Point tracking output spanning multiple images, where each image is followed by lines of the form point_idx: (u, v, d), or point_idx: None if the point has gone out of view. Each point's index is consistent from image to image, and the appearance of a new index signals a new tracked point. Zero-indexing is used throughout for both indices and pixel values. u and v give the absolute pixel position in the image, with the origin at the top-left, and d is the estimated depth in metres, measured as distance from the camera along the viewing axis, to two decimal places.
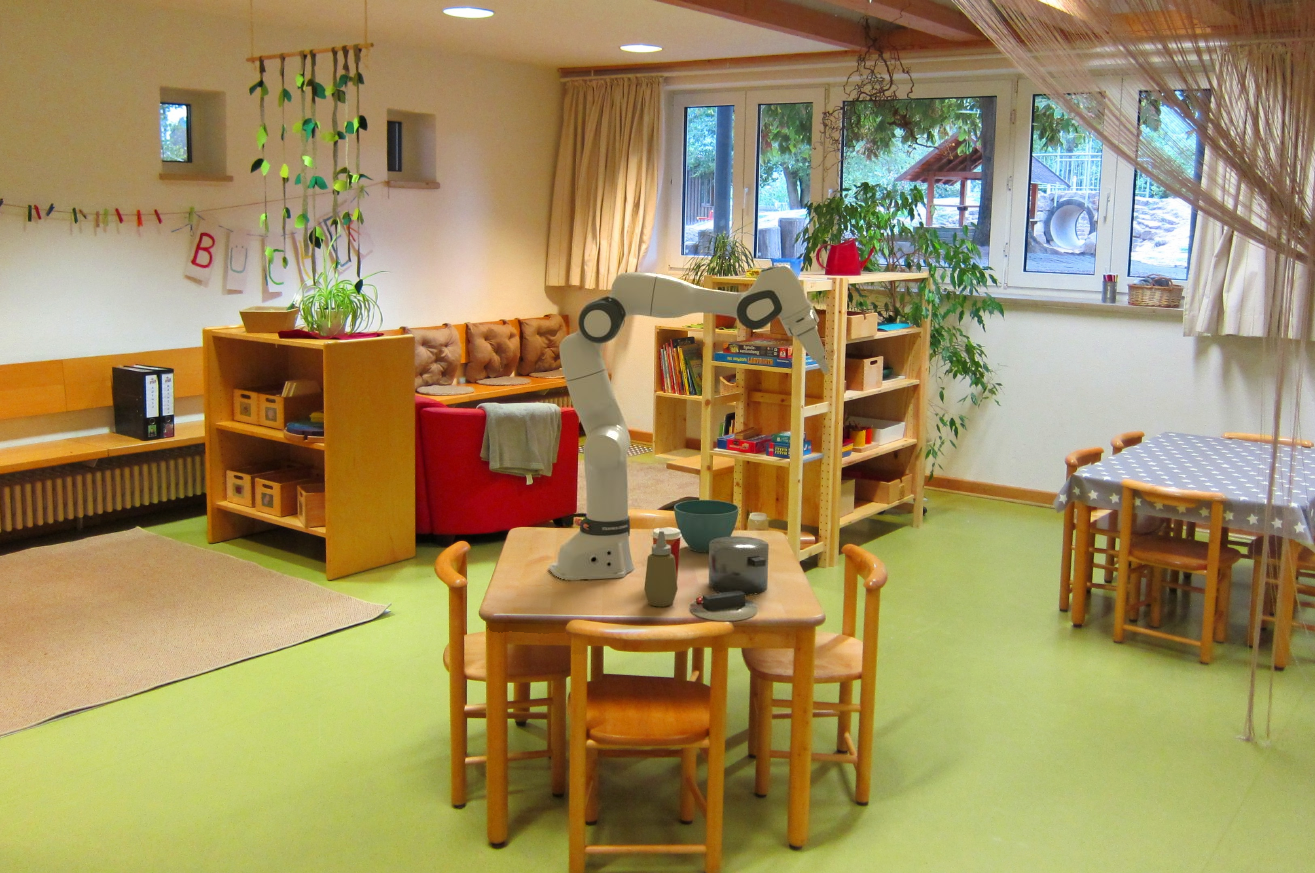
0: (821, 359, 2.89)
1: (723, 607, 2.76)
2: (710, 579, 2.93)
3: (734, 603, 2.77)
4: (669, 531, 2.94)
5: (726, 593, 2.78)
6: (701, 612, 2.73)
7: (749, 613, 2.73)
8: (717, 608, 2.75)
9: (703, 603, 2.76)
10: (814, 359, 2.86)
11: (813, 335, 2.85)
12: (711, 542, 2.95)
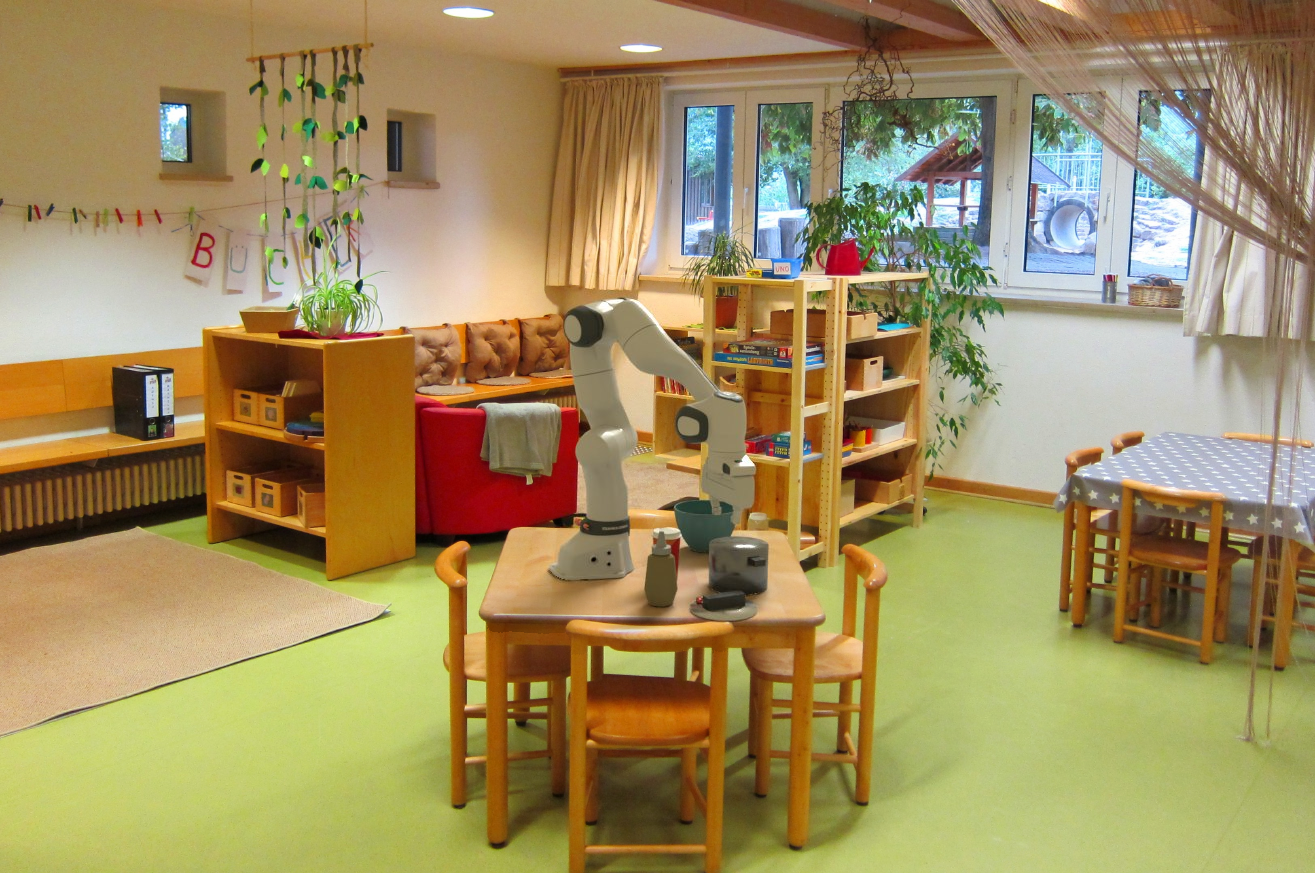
0: (740, 508, 2.67)
1: (723, 607, 2.75)
2: (710, 579, 2.93)
3: (734, 603, 2.77)
4: (669, 531, 2.94)
5: (726, 593, 2.78)
6: (701, 612, 2.73)
7: (749, 613, 2.73)
8: (717, 608, 2.75)
9: (703, 603, 2.76)
10: (741, 507, 2.63)
11: (750, 482, 2.64)
12: (711, 542, 2.95)
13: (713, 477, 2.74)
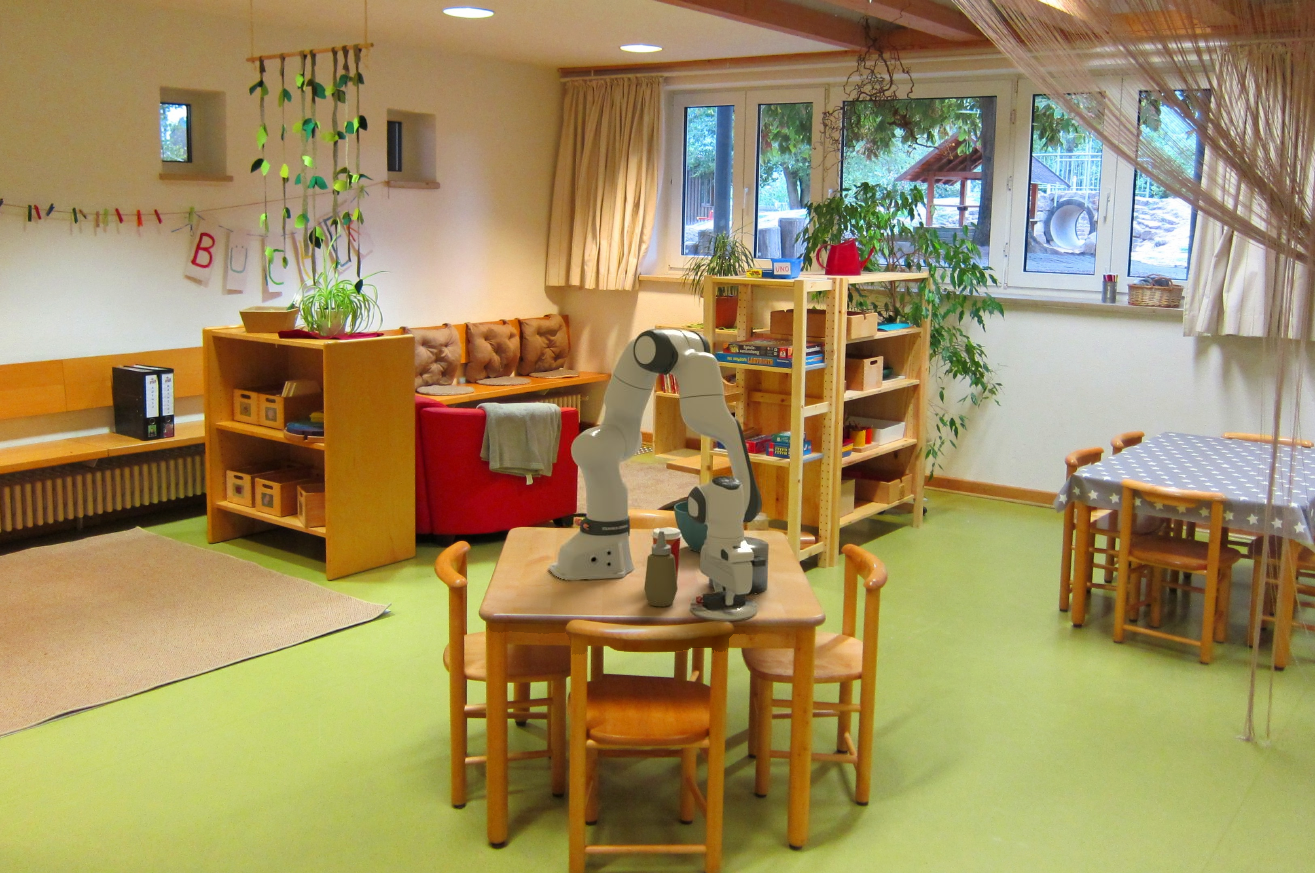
0: None
1: (723, 606, 2.75)
2: (710, 579, 2.93)
3: (734, 601, 2.76)
4: (669, 531, 2.94)
5: (726, 592, 2.78)
6: (701, 611, 2.73)
7: (749, 612, 2.73)
8: (717, 607, 2.75)
9: (703, 602, 2.76)
10: (739, 593, 2.67)
11: (748, 569, 2.67)
12: None
13: (711, 560, 2.78)
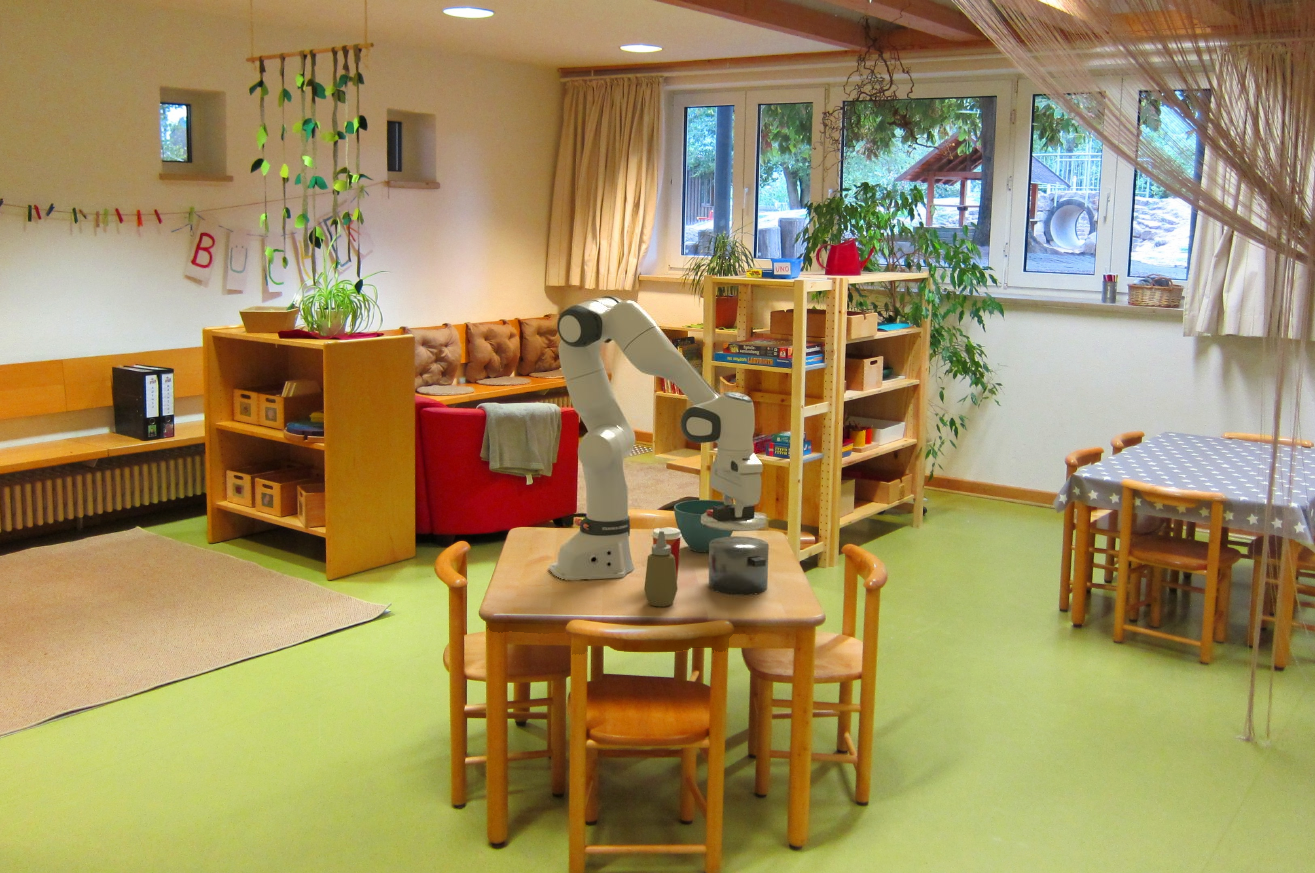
0: (742, 502, 2.81)
1: (733, 518, 2.83)
2: (710, 579, 2.93)
3: (743, 514, 2.84)
4: (669, 531, 2.94)
5: None
6: (711, 521, 2.81)
7: (758, 523, 2.80)
8: (727, 518, 2.83)
9: (713, 514, 2.84)
10: (747, 503, 2.75)
11: (757, 480, 2.75)
12: (711, 542, 2.95)
13: (722, 474, 2.86)
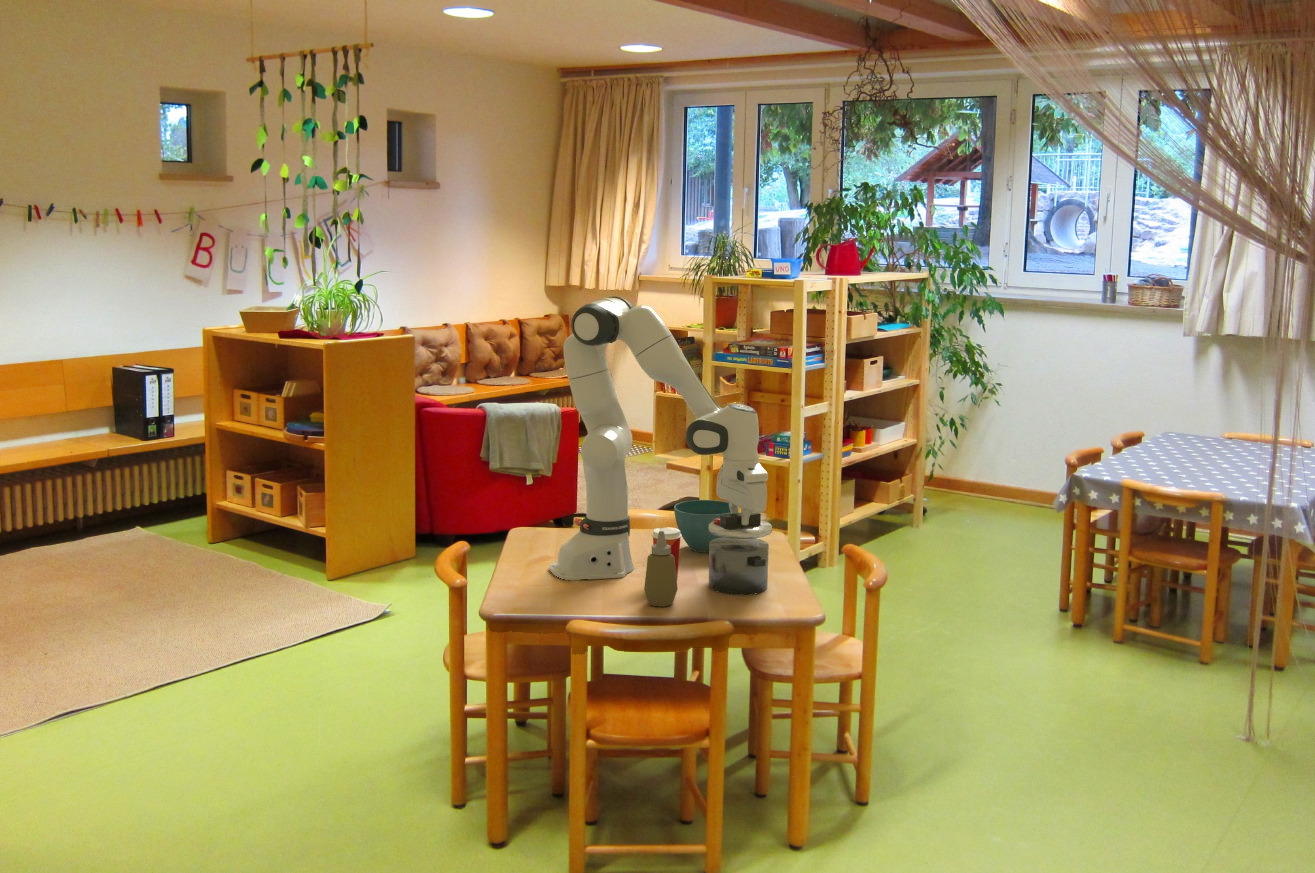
0: (748, 510, 2.88)
1: (740, 526, 2.91)
2: (710, 579, 2.93)
3: (750, 522, 2.92)
4: (669, 531, 2.94)
5: None
6: (719, 530, 2.89)
7: (764, 530, 2.88)
8: (734, 526, 2.90)
9: (721, 522, 2.91)
10: (754, 511, 2.83)
11: (763, 489, 2.83)
12: (711, 542, 2.95)
13: (728, 483, 2.94)
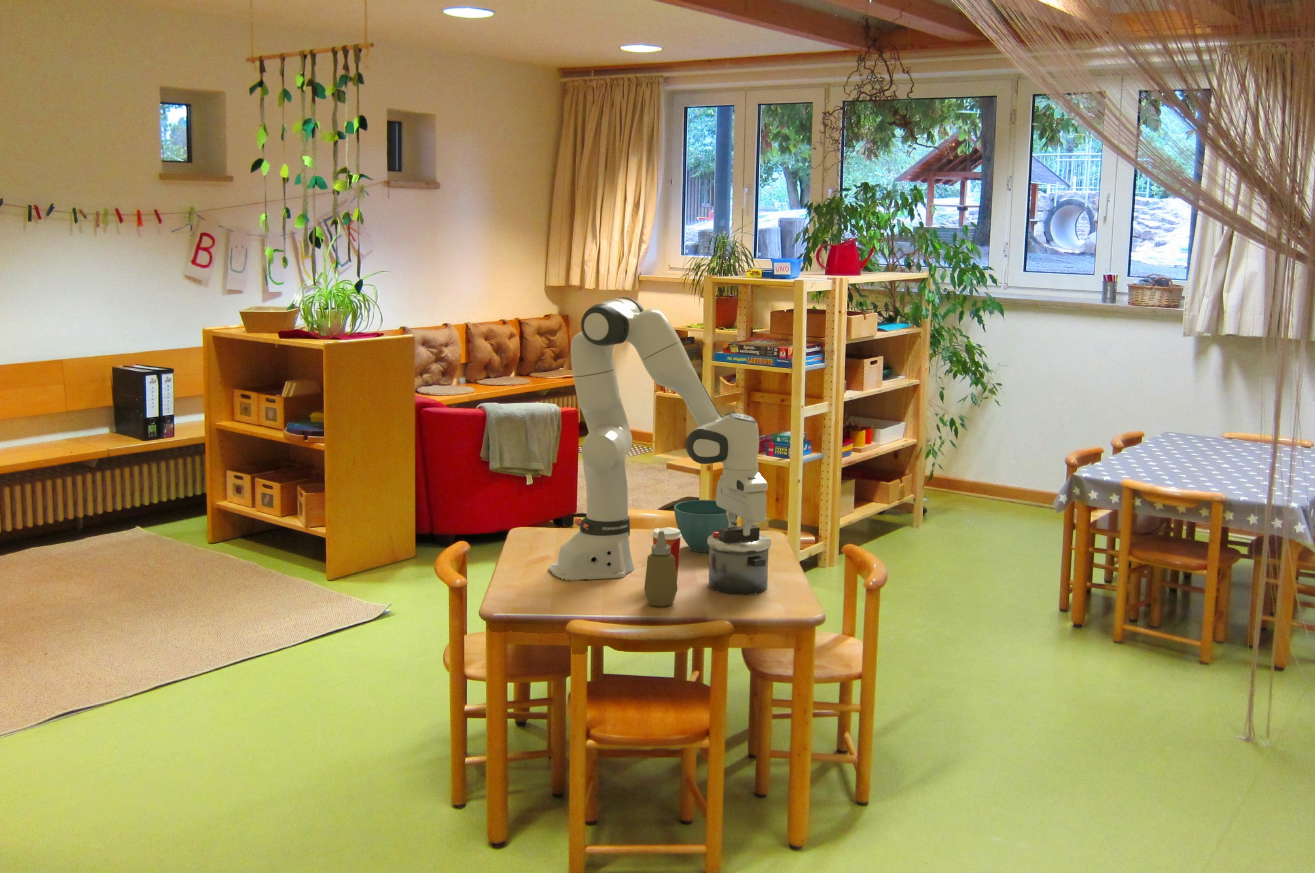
0: None
1: (739, 540, 2.92)
2: (710, 579, 2.93)
3: (749, 536, 2.93)
4: (669, 531, 2.94)
5: (741, 527, 2.94)
6: (718, 544, 2.89)
7: (763, 544, 2.89)
8: (733, 540, 2.91)
9: (720, 536, 2.92)
10: (753, 521, 2.83)
11: (763, 498, 2.83)
12: None
13: (727, 492, 2.94)
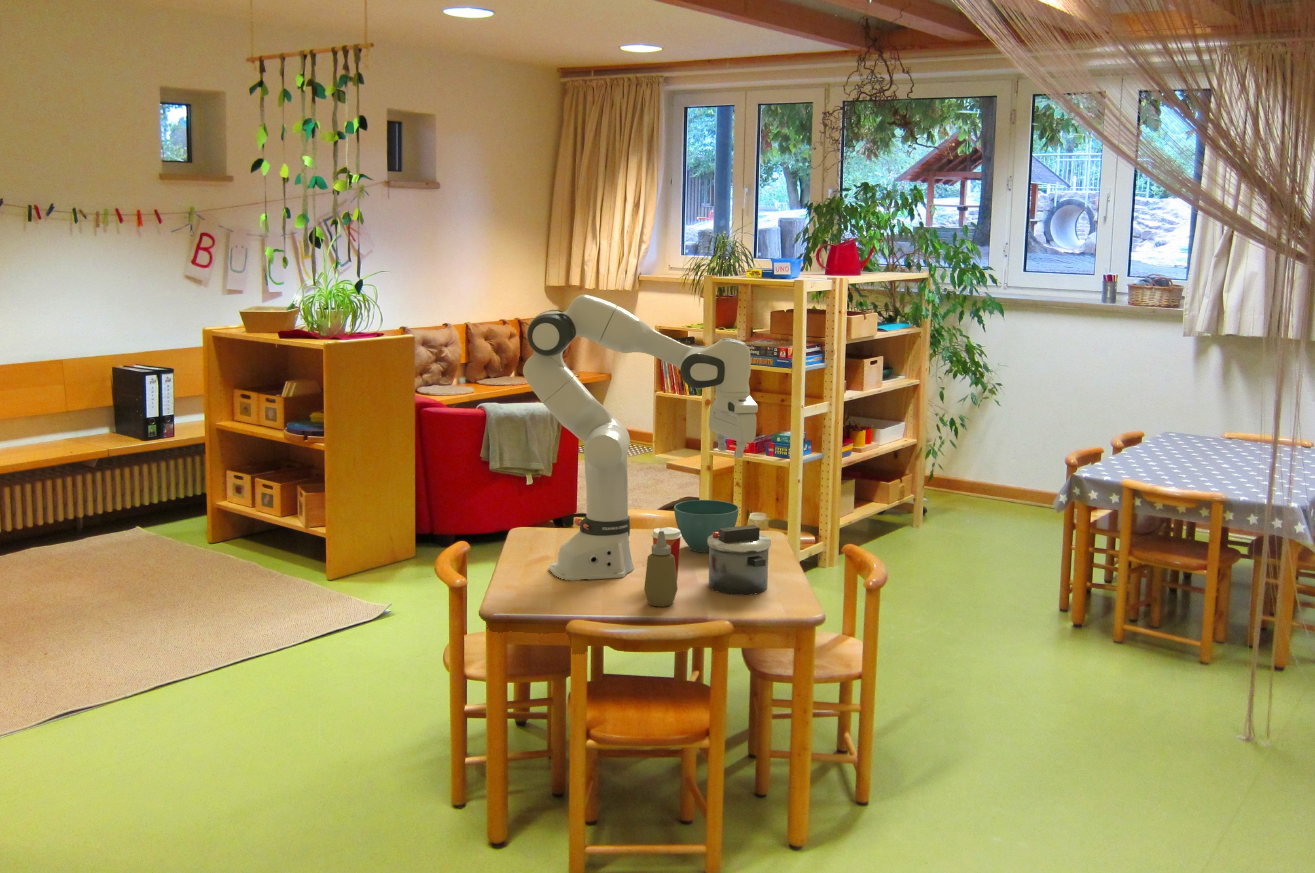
0: (743, 443, 2.96)
1: (739, 540, 2.92)
2: (710, 579, 2.93)
3: (749, 536, 2.93)
4: (669, 531, 2.94)
5: (741, 527, 2.94)
6: (718, 544, 2.89)
7: (763, 544, 2.89)
8: (733, 540, 2.91)
9: (720, 536, 2.92)
10: (743, 441, 2.92)
11: (753, 420, 2.92)
12: None
13: (719, 416, 3.03)
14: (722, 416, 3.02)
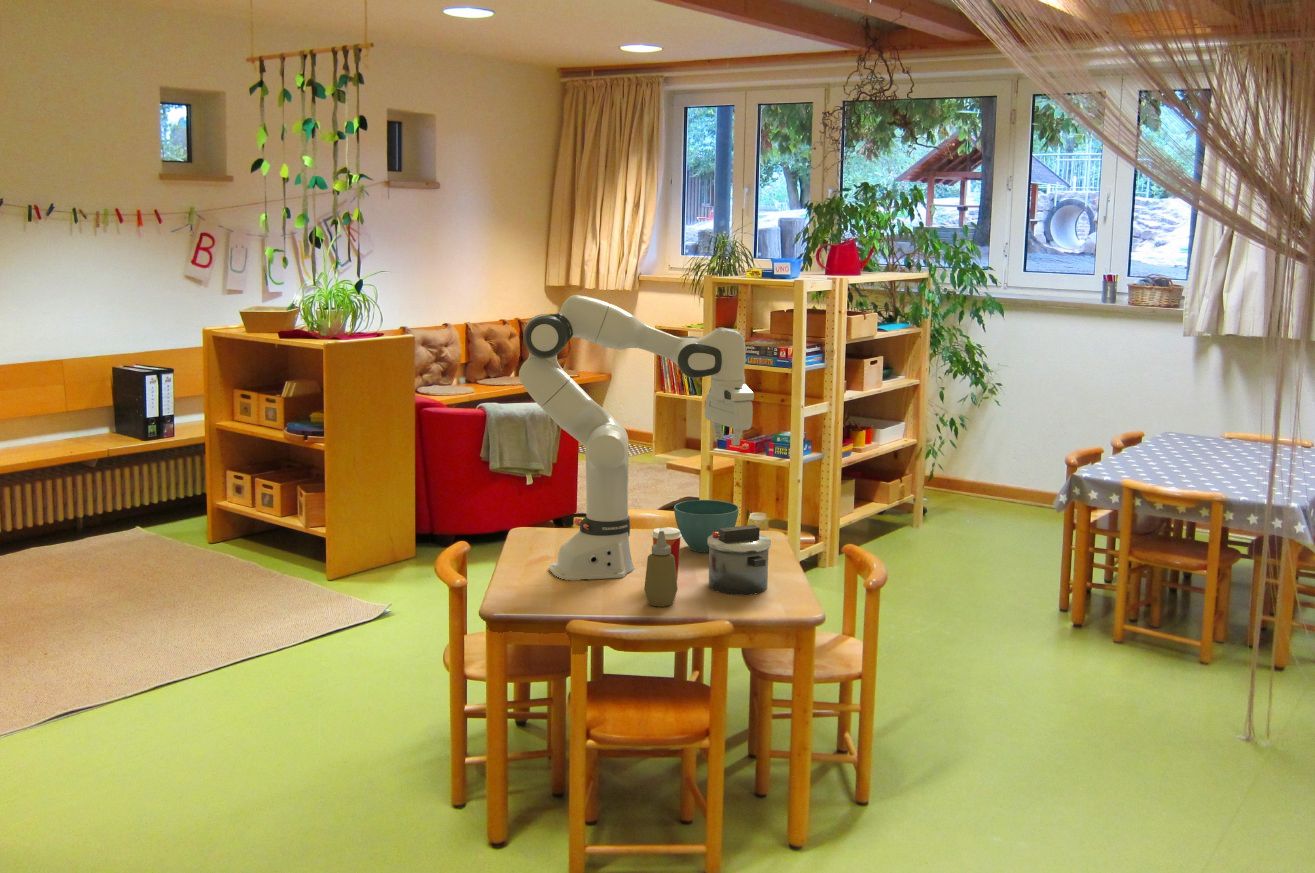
0: (740, 431, 3.00)
1: (739, 540, 2.92)
2: (710, 579, 2.93)
3: (749, 536, 2.93)
4: (669, 531, 2.94)
5: (741, 527, 2.94)
6: (718, 544, 2.89)
7: (763, 544, 2.89)
8: (733, 540, 2.91)
9: (720, 536, 2.92)
10: (740, 429, 2.97)
11: (749, 407, 2.97)
12: None
13: (716, 405, 3.08)
14: (718, 405, 3.06)
